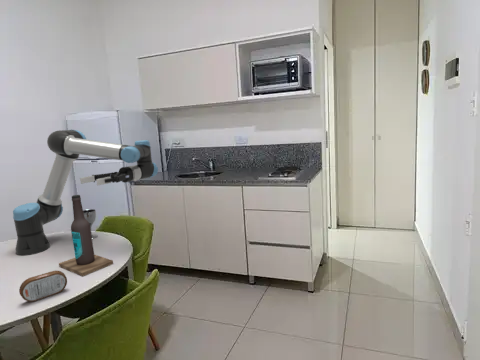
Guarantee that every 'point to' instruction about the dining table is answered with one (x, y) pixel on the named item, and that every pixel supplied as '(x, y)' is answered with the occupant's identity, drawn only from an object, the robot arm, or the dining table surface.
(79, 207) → the beer bottle
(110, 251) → the dining table surface
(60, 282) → the tin
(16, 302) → the dining table surface
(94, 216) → the wine glass
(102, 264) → the serving board
